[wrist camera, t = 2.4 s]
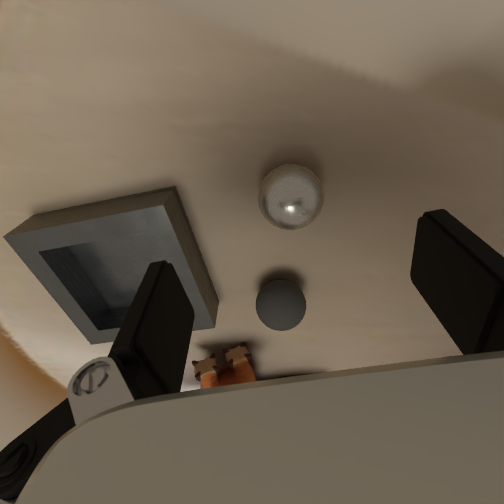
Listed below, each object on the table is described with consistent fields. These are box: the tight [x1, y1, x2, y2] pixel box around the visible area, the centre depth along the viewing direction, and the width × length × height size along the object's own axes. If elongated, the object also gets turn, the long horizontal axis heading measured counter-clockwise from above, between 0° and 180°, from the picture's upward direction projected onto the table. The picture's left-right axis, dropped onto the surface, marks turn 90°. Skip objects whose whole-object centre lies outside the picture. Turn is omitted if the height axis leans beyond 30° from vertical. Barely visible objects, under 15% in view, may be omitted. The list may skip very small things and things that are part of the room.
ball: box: [256, 280, 306, 331], centre depth 23 cm, size 4×4×4 cm
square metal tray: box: [3, 186, 219, 345], centre depth 22 cm, size 11×11×3 cm
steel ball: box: [258, 164, 324, 230], centre depth 18 cm, size 4×4×4 cm
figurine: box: [192, 342, 301, 389], centre depth 30 cm, size 20×9×15 cm
